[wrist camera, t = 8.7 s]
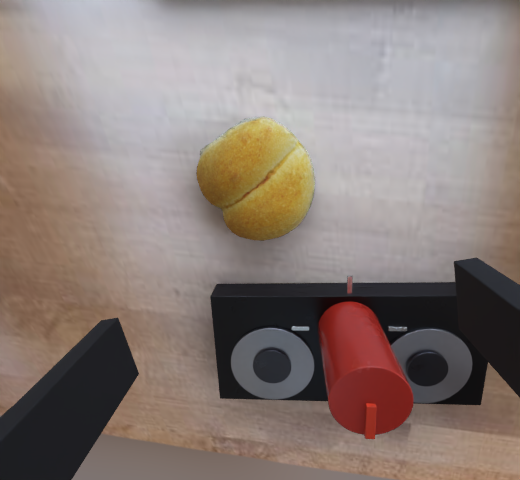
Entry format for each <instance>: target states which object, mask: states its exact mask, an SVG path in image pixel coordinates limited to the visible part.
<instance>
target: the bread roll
mask: <svg viewBox="0 0 520 480" xmlns="http://www.w3.org/2000/svg"><path fill="white" fill-rule="evenodd" d="M197 180H198V183H199V186H200V189H201V191H202V193H203V195H204V196H205V198H206V199H207V200H208V201H209V202H210V203H211V204H213V205H215V206H216V207H219V208H221V210H222V211H223V217H224V221H225V223H226V225H227V227H228V228H229V229H230V230H231V232H233V233H234V234H236V235H238V236H239V237H243V238H246V239H250V240H260V241H263V240H269V239H273V238H278V237H281V236H283V235H285V234H287V233H289V232H290V231H292V230H293V229H295V228H296V227H297V226H298V225H299V224H300V223H301V222H302V220H303V219H304V217H305V216H306V214H307V212H308V210H309V208H310V205H311V202H312V199H313V195H314V186H315V177H314V169H313V165H312V161H311V159H310V157H309V154H308V152H307V151H306V149H305V148H304V147H303V146H302V144H301V143H300V142H299V141H298V139H297V138H296V137H295V136H294V135H293V133H292V132H291V131H290V130H288V129H287V128H286V127H285V126H283V125H282V124H280V123H279V122H277V121H275V120H273V119H270V118H267V117H255V118H248V119H244V120H242V121H241V122H240V123H238V124H237V125H235V126H234V127H232V128H230V129H229V130H228V131H227V132H225V133H224V134H223V135H221V136H219V137H218V138H217V139H216V140H215V141H214V142H212V143H210V144H209V145H207V146H206V147H205V148H203V149H202V150H201V151H200V160H199V163H198V166H197Z"/></svg>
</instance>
